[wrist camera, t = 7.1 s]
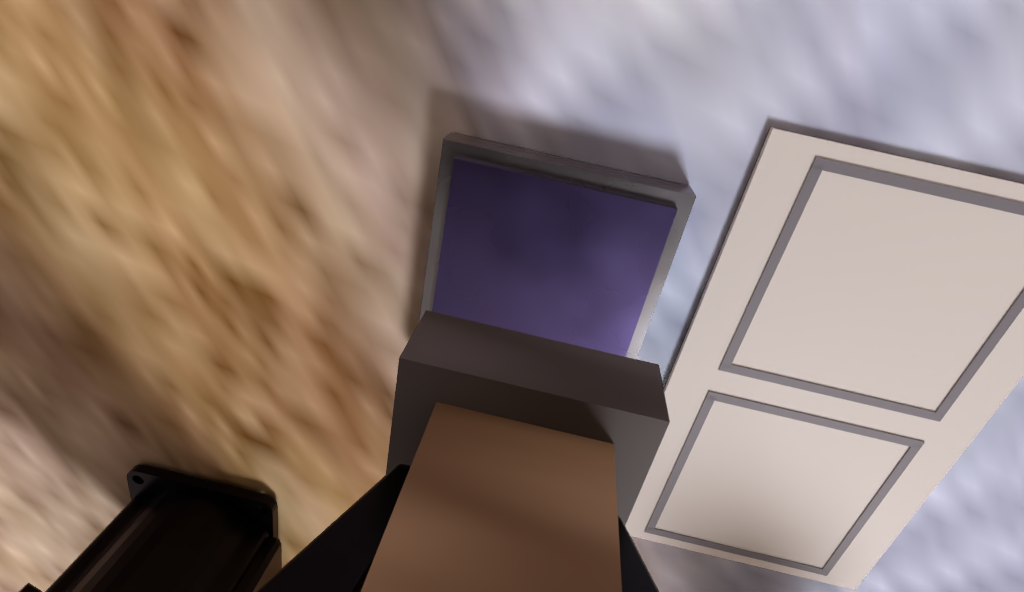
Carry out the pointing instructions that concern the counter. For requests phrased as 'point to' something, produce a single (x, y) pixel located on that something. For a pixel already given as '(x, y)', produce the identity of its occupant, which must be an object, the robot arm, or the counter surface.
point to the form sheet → (837, 358)
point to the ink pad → (550, 244)
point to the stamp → (514, 461)
